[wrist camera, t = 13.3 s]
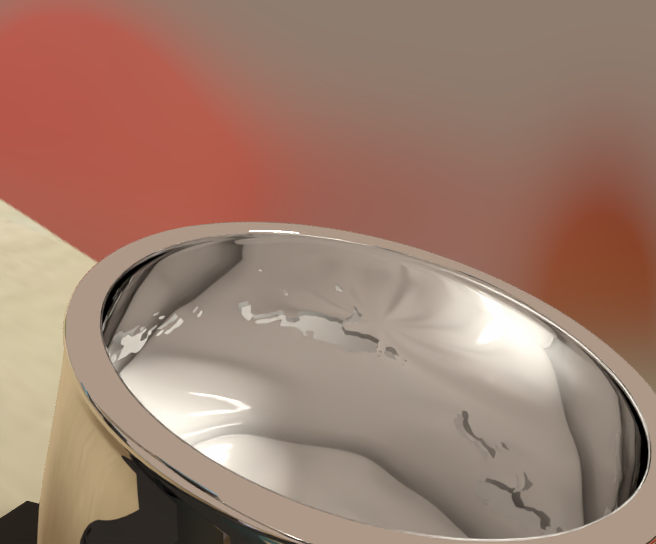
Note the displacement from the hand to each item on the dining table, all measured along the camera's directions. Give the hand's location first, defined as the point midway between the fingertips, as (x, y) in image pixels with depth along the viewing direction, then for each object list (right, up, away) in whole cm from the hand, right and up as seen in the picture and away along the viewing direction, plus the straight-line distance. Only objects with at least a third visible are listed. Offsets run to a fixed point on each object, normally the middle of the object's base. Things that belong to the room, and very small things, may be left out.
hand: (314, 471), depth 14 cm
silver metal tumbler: (-2, -10, -1) cm, 10 cm away
